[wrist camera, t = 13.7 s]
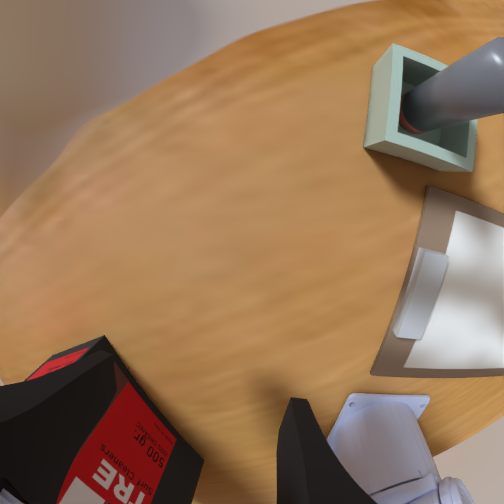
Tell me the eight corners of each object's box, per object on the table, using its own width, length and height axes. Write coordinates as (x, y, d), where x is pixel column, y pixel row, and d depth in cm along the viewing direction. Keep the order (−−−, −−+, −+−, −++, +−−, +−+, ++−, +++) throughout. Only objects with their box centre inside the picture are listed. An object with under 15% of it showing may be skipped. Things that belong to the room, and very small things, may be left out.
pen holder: (439, 171, 16) (473, 172, 12) (363, 147, 16) (384, 140, 12) (446, 94, 14) (477, 81, 10) (372, 67, 15) (393, 43, 11)
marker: (428, 139, 15) (541, 119, 5) (392, 127, 15) (494, 86, 5) (431, 102, 14) (535, 59, 4) (395, 89, 14) (487, 24, 5)
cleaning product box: (204, 459, 24) (155, 619, 5) (142, 463, 26) (84, 589, 7) (104, 335, 21) (-53, 505, 2) (52, 355, 23) (-69, 474, 4)
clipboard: (511, 372, 19) (517, 379, 17) (369, 372, 20) (373, 383, 18) (560, 241, 15) (569, 245, 14) (426, 185, 16) (436, 186, 15)
